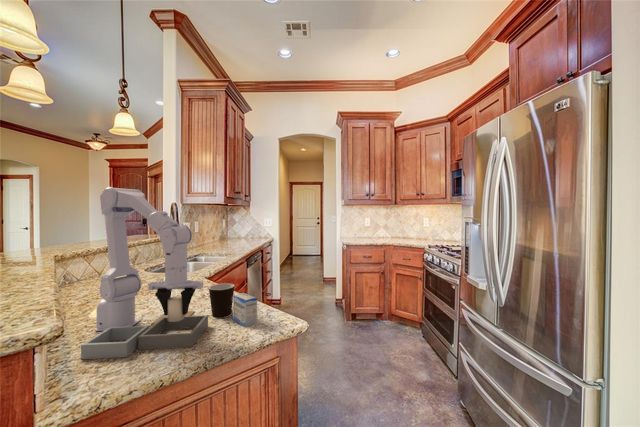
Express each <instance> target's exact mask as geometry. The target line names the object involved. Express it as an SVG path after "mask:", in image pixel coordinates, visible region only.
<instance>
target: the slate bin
mask: <svg viewBox="0 0 640 427" xmlns="http://www.w3.org/2000/svg"><path fill="white" fill-rule="evenodd" d="M149 328H150V325H133V326H126V327H109V328H108V329H106V330H105V331H100V332H99V333H98V334H96V335H95V336H93V337H92V338H90V339H89V340H87V341H85V342H83V343H82V344H80V360H91V359H93V360H95V359H109V358H110V359H113V358H127V357H128V356H130V354H132V353H133V352H134V351H135V350H136V349H138V336H140V335H141V334H142V333H143V332H145V331H146V330H147V329H149ZM109 341H110V342H109Z"/></svg>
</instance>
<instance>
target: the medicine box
mask: <svg viewBox="0 0 640 427" xmlns="http://www.w3.org/2000/svg"><path fill="white" fill-rule="evenodd" d="M232 321H233V322H234V323H236V324H238V325H240V326H243V327H245V328H248V327H250V326H254V325H256V324H258V297H255V296H253V295H252V294H251V295H250V294H248V293H246V292H243V293H238V294H234V295H233V303H232Z"/></svg>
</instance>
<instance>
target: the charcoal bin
mask: <svg viewBox="0 0 640 427" xmlns="http://www.w3.org/2000/svg"><path fill="white" fill-rule="evenodd" d="M208 327H209V315H208V314H207V315H206V314H205V315H204V314H203V315H191V316H185V318H184V319H183V320H181V321H177V322H169V321H168V317H162V318H161V319H160V320H159V321H157V322H156V323H155V324H153V325H150V326H149V329H147V330H146V331H145V332H143V333H142V334H141V335H140V336H138V348H137V350H138V351H139V350H141V351H142V350H158V349H159V350H163V349H178V348H179V349H182V348H193V347H194V345H195V344H196V343H197V341H198V340H199V338H200V337H201V336H202V335H203V333H205V330H207V328H208ZM173 329H175V330H176V329H192V330H191V331H190V332H184V333H183V332H182V333H162V332H163V331H164V330H173ZM160 332H161V333H160ZM159 333H160V334H159Z"/></svg>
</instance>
